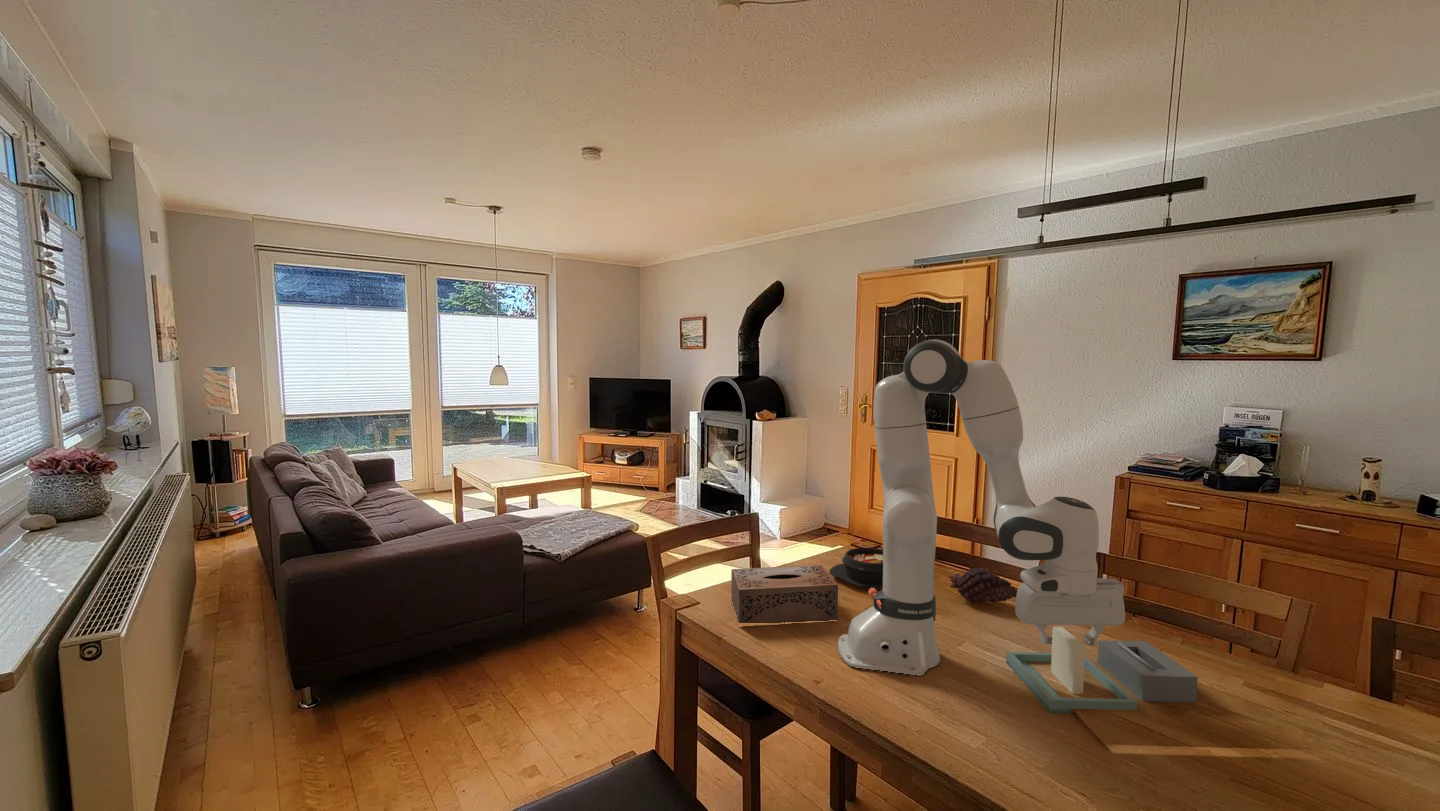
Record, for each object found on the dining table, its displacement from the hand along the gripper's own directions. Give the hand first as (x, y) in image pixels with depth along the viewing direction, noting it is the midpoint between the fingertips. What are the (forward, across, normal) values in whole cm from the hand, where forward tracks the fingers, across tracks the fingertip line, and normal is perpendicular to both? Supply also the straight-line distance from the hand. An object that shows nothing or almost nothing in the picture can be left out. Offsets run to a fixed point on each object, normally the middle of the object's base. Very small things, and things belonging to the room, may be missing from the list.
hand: (1067, 643), depth 115 cm
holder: (+9, -16, -1) cm, 18 cm away
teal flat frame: (+9, 0, 0) cm, 9 cm away
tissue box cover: (+10, +56, -33) cm, 66 cm away
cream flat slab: (+8, 0, 0) cm, 8 cm away
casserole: (+10, +28, -55) cm, 62 cm away
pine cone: (+9, +1, -40) cm, 41 cm away
